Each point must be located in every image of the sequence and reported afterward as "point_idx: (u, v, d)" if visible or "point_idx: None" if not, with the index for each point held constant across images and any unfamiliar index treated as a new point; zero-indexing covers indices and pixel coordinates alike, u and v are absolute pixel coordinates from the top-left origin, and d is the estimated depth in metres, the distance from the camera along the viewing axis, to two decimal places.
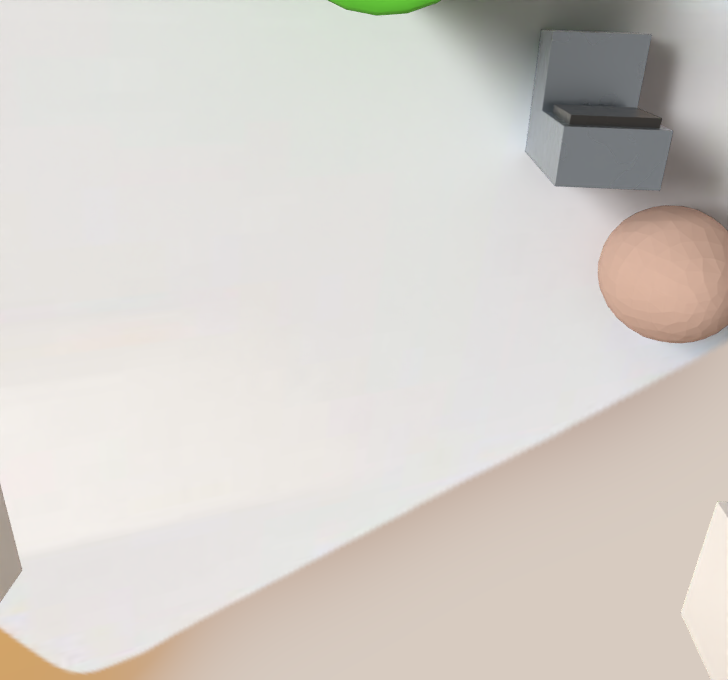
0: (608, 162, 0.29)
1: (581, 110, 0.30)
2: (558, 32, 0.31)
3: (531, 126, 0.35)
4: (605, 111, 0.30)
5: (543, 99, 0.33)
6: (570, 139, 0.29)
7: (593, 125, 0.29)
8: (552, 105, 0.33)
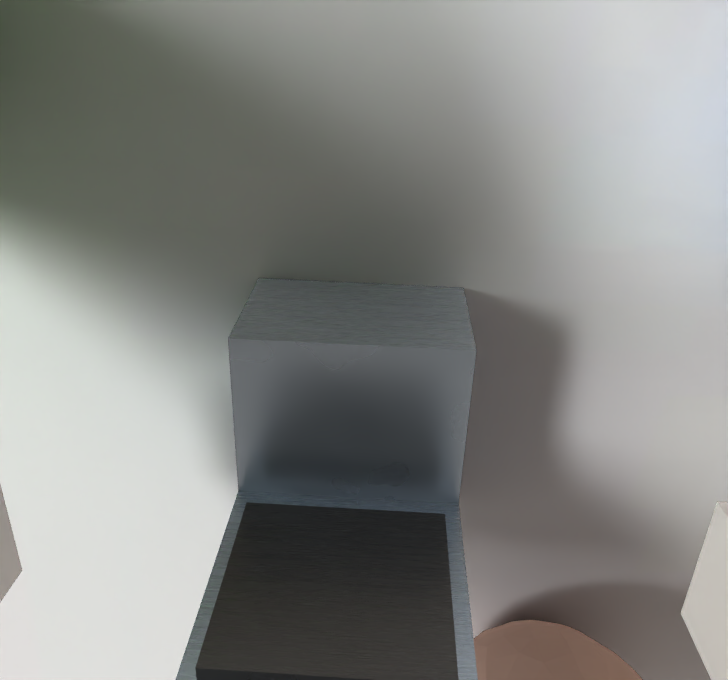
0: None
1: (271, 584, 0.11)
2: (242, 341, 0.12)
3: None
4: (333, 591, 0.11)
5: (238, 468, 0.14)
6: None
7: None
8: (260, 481, 0.14)
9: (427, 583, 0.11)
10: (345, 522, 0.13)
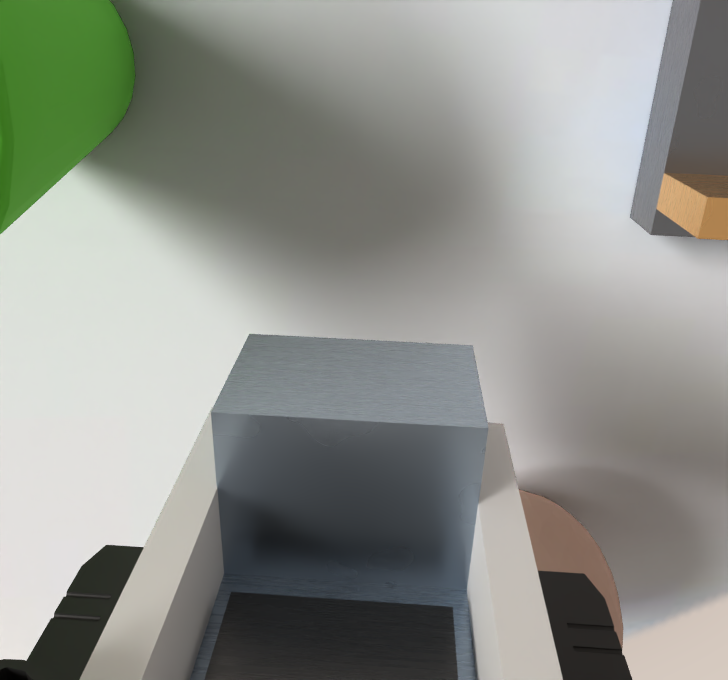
0: None
1: None
2: (226, 415, 0.11)
3: None
4: None
5: (223, 549, 0.12)
6: None
7: None
8: (248, 564, 0.12)
9: None
10: (341, 618, 0.11)
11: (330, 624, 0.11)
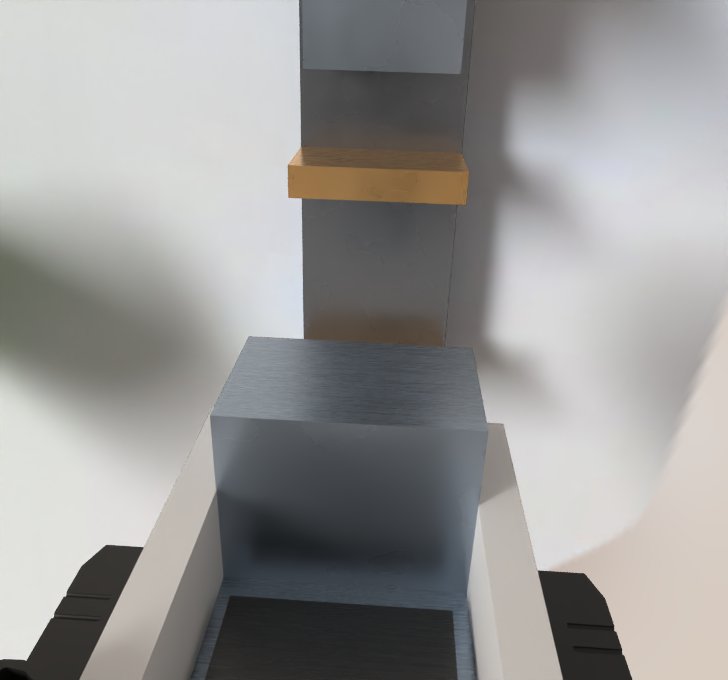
0: None
1: None
2: (225, 418, 0.11)
3: None
4: None
5: (223, 552, 0.12)
6: None
7: None
8: (247, 567, 0.12)
9: None
10: (340, 622, 0.11)
11: (329, 628, 0.11)
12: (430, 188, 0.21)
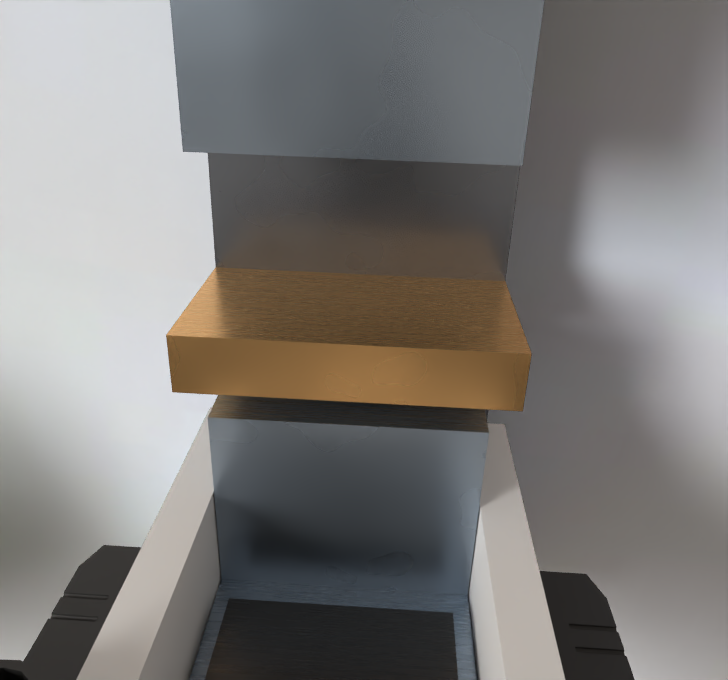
0: None
1: None
2: (223, 420, 0.11)
3: None
4: None
5: (221, 554, 0.12)
6: None
7: None
8: (246, 569, 0.12)
9: None
10: (340, 624, 0.11)
11: (329, 631, 0.11)
12: (452, 381, 0.10)
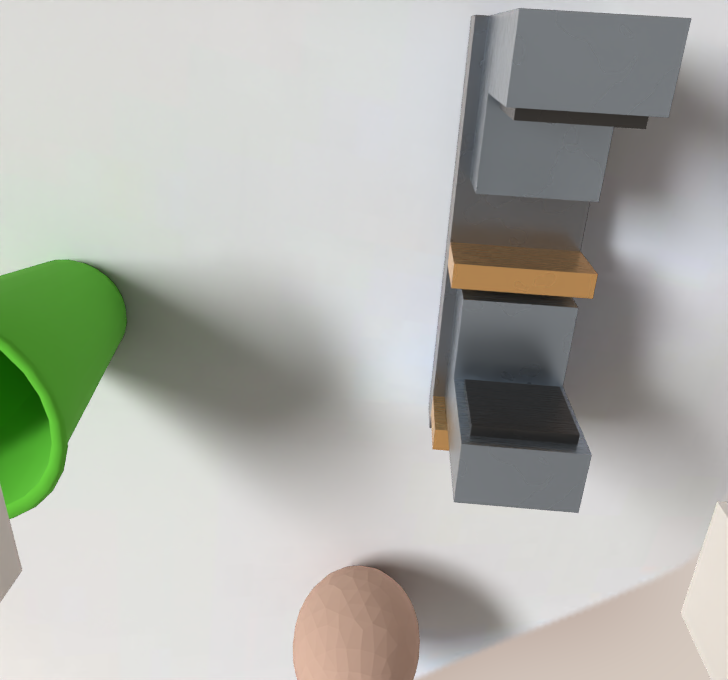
0: (516, 482, 0.24)
1: (490, 405, 0.25)
2: (469, 301, 0.27)
3: (448, 377, 0.31)
4: (518, 408, 0.25)
5: (455, 366, 0.28)
6: (470, 457, 0.24)
7: (499, 436, 0.24)
8: (465, 373, 0.28)
9: (558, 407, 0.26)
10: (514, 387, 0.27)
11: (510, 389, 0.27)
12: (565, 285, 0.26)
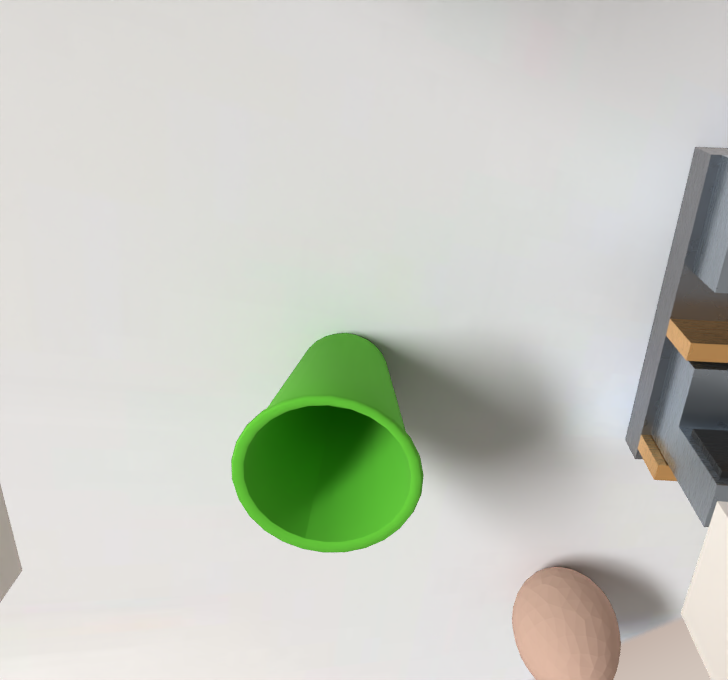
0: None
1: (725, 451, 0.34)
2: (699, 369, 0.35)
3: (660, 421, 0.39)
4: None
5: (680, 417, 0.36)
6: (721, 494, 0.32)
7: None
8: (688, 422, 0.36)
9: None
10: None
11: None
12: None
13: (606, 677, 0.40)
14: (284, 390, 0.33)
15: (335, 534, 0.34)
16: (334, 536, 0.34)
